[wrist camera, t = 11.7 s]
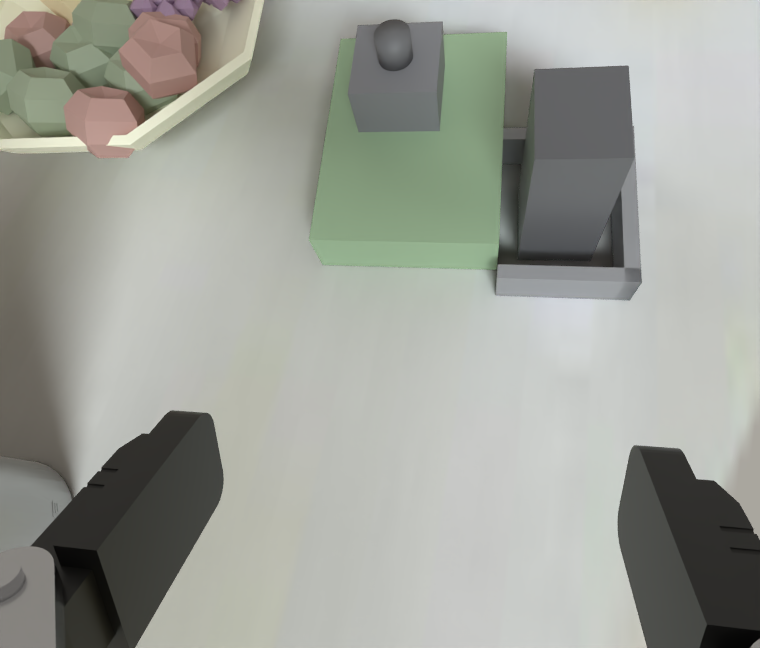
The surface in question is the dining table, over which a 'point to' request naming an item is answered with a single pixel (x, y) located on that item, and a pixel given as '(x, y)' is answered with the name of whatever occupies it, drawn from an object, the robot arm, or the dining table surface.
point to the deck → (438, 165)
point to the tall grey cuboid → (573, 160)
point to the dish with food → (115, 69)
